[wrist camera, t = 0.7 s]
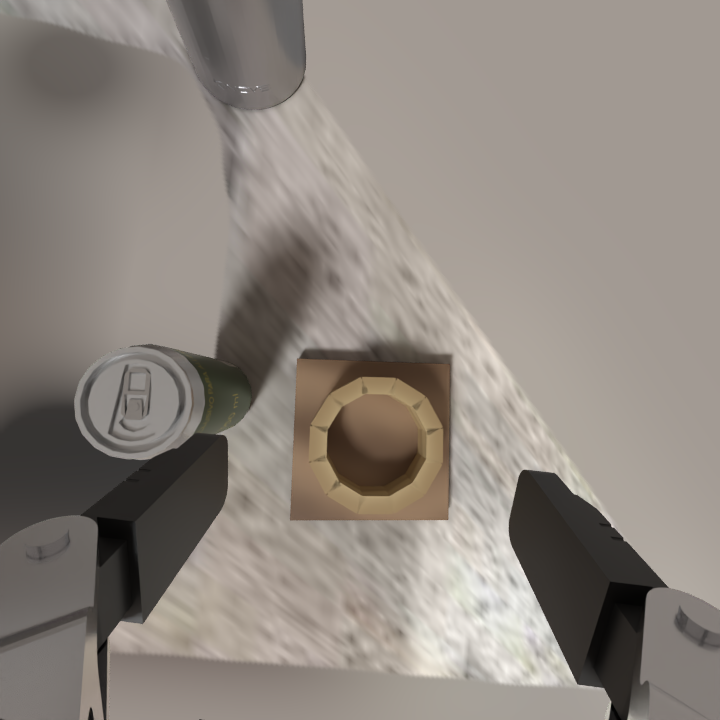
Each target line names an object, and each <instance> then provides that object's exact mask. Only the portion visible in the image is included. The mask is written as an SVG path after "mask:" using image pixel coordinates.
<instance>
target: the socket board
mask: <svg viewBox="0 0 720 720" xmlns="http://www.w3.org/2000/svg"><path fill="white" fill-rule="evenodd" d="M449 397H450V364H431V363H403V362H375V361H348V360H320V359H297V375H296V398H295V421H294V444H293V467H292V490H291V513H290V520H448V496H449Z"/></svg>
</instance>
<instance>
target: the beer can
mask: <svg viewBox="0 0 720 720" xmlns="http://www.w3.org/2000/svg"><path fill="white" fill-rule="evenodd" d="M251 398H252V395H251V386H250V384H249V381H248V379H247V377H246V375H245V374H244V373H243V372H242V371H241V370H240V369H239V368H238V367H236V366H234V365H233V364H231V363H229V362H225V361H221V360H217V359H213V358H209V357H204V356H200V355H197V354H192V353H188V352H184V351H180V350H176V349H172V348H168V347H163V346H158V345H153V344H148V345H147V344H146V345H137V346H131V347H128V348H120V349H118V350H115V351H113V352H111V353H108V354H106V355H104V356H102V357H101V358H100V359H99V360H97V361H96V362H95V363H94V364H92V365H91V366H90V367H89V368H88V370H87V371H86V373H85V374H84V376H83V377H82V379H81V380H80V382H79V385H78V388H77V392H76V395H75V399H74V404H75V418H76V420H77V423H78V425H79V428H80V430H81V432H82V434H83V435H84V437H85V438H86V439H87V440H88V441H89V442H90V443H91V444H92V445H93V446H94V447H95V448H96V449H98V450H100V451H102V452H104V453H106V454H108V455H109V456H113V457H118V458H124V459H137V460H144V459H152V458H153V457H155V456H157V455H159V454H161V453H163V452H166V451H168V450H170V449H172V448H176V449H177V448H178V447H179V446H181V445H182V444H183V443H184V442H185V441H186V440H188V439H189V438H190V437H191V436H192V435H194V434H195V433H207V434H217V433H219V432H222V431H224V430H226V429H228V428H231V427H233V426H235V425H236V424H237V423H238V422H239V421H241V420H242V419H243V418H244V416H245V414H246V413H247V411H248V409H249V407H250V402H251Z"/></svg>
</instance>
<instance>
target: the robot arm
mask: <svg viewBox="0 0 720 720" xmlns="http://www.w3.org/2000/svg"><path fill="white" fill-rule="evenodd" d="M166 2H167V4H168V6H169V9H170V11H171V13H172V16H173V18H174V21H175V23H176V26H177V28H178V30H179V33H180V35H181V37H182V40H183V42H184V45H185V47H186V49H187V52H188V54H189V56H190V59H191V61H192V63H193V66H194V68H195V70H196V73H197V75H198V78H199V79H200V81H201V82H202V84H203V85H204V87H205V88H206V89H207V90H208V91H209V92H210V93H211V94H212V95H213V96H214V97H216V98H218V99H219V100H221V101H222V102H224V103H226V104H229V105H231V106H234V107H237V108H242V109H247V110H253V109H264V108H269V107H272V106H275V105H277V104H279V103H281V102H283V101H284V100H286V99H287V98H288V97H290V96H291V95H292V94H293V93H294V92H295V90H296V89H297V88H298V87H299V85H300V83H301V81H302V79H303V76H304V72H305V68H306V50H305V36H304V22H303V4H302V0H166ZM227 489H228V442H227V438H226V437H225V436H224V435H216V434H207V433H195V434H194V435H192V436H191V437H190V438H189V439H188V440H186V441H185V442H184V443H183V444H182V445H181V446H179V447H178V448H177V449H176V448H172V449H170V450H168V451H166V452H163V453H161V454H159V455H157V456H155V457H153V458H152V459H150V460H149V461H148V462H147V463H145V464H144V465H143V466H142V467H140V468H139V471H135V472H134V473H133V474H132V475H130V476H129V477H128V478H127V480H126V481H123V482H122V483H120V484H119V485H118V486H117V487H115V488H114V489H113V490H112V491H110V492H109V493H108V494H107V495H105V496H104V497H103V498H102V499H100V500H99V501H98V502H97V503H96V504H94V505H93V506H92V507H90V508H89V509H88V510H87V511H85V512H84V513H83V514H81V515H80V516H63V517H58V518H53V519H49V520H45V521H42V522H40V523H37V524H34V525H32V526H30V527H27V528H26V529H24V530H22V531H20V532H18V533H16V534H15V535H13V536H12V537H10V538H9V539H7V540H6V541H5V542H4V543H3V544H2V545H0V720H109V697H110V642H109V635H110V634H111V632H112V631H113V630H114V628H115V627H116V626H117V624H118V623H119V622H120V621H125V622H133V623H140V624H143V623H144V622H145V620H146V619H147V617H148V616H149V614H150V613H151V611H152V610H153V608H154V607H155V606H156V604H157V603H158V601H159V600H160V598H161V597H162V595H163V594H164V592H165V591H166V589H167V588H168V587H169V585H170V584H171V582H172V581H173V579H174V578H175V576H176V575H177V573H178V572H179V570H180V569H181V568H182V566H183V565H184V563H185V562H186V560H187V559H188V557H189V556H190V554H191V553H192V552H193V550H194V549H195V547H196V546H197V544H198V543H199V541H200V540H201V538H202V537H203V535H204V534H205V533H206V531H207V530H208V528H209V527H210V525H211V524H212V522H213V521H214V519H215V518H216V516H217V515H218V514H219V512H220V511H221V509H222V507H223V505H224V502H225V499H226V495H227ZM509 537H510V541H511V545H512V547H513V549H514V551H515V554H516V556H517V558H518V560H519V562H520V564H521V566H522V568H523V570H524V573H525V575H526V577H527V579H528V581H529V583H530V585H531V587H532V589H533V592H534V594H535V596H536V598H537V600H538V602H539V604H540V606H541V608H542V610H543V613H544V615H545V617H546V619H547V621H548V623H549V625H550V627H551V629H552V632H553V634H554V636H555V638H556V640H557V642H558V644H559V646H560V648H561V651H562V653H563V655H564V657H565V659H566V661H567V663H568V665H569V667H570V669H571V672H572V674H573V676H574V678H575V680H576V682H577V684H579V685H586V686H594V687H601V688H604V689H605V690H606V692H607V694H608V696H609V698H610V702H609V705H608V708H607V711H606V714H605V720H720V610H718V609H717V608H715V607H714V606H712V605H710V604H709V603H707V602H705V601H703V600H701V599H699V598H697V597H694V596H692V595H690V594H688V593H685V592H682V591H679V590H675V589H671V588H668V587H667V585H666V584H665V583H664V582H663V581H662V580H661V579H660V578H659V577H658V576H657V574H656V573H655V572H654V571H653V570H652V569H651V568H650V567H649V566H648V565H647V563H646V562H645V561H644V560H643V559H642V558H641V557H640V556H639V555H638V554H637V552H636V551H635V550H634V549H633V548H632V547H631V546H630V545H629V544H628V543H627V542H625V541H624V540H623V537H622V536H621V535H620V534H619V533H618V532H617V531H616V529H615V528H612V527H611V524H610V523H609V522H608V521H607V520H606V518H605V517H604V516H603V515H602V514H601V513H600V512H599V511H598V510H597V509H596V508H595V507H593V506H592V505H590V504H589V503H588V502H586V501H585V500H583V499H582V498H580V497H579V496H578V495H574V494H573V493H572V492H571V491H570V490H569V488H568V487H567V486H566V485H565V484H564V483H563V481H562V480H561V479H560V478H559V477H558V476H557V475H556V474H555V473H549V472H541V471H532V470H523V471H522V472H521V473H520V475H519V479H518V483H517V488H516V492H515V497H514V501H513V506H512V510H511V515H510V519H509Z"/></svg>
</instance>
